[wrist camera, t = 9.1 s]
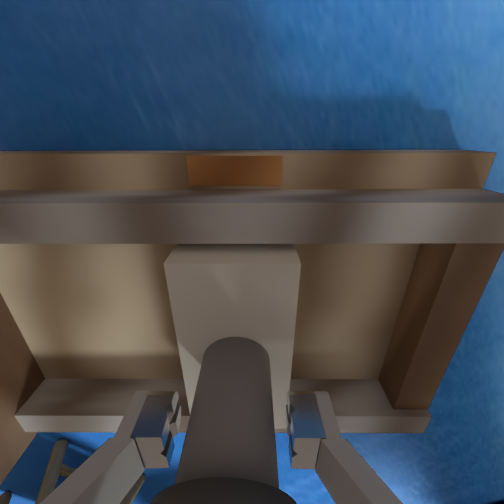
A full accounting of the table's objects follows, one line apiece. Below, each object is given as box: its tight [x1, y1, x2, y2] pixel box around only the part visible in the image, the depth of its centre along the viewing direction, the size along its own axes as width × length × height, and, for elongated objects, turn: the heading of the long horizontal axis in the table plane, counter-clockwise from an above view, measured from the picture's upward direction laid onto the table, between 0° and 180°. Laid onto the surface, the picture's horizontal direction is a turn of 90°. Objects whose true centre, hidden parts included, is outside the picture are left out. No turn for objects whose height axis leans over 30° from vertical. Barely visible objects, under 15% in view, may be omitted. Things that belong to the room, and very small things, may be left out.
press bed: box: [0, 150, 504, 485], centre depth 12 cm, size 27×17×8 cm, turn 90°
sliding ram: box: [151, 244, 301, 504], centre depth 10 cm, size 5×10×9 cm, turn 0°
